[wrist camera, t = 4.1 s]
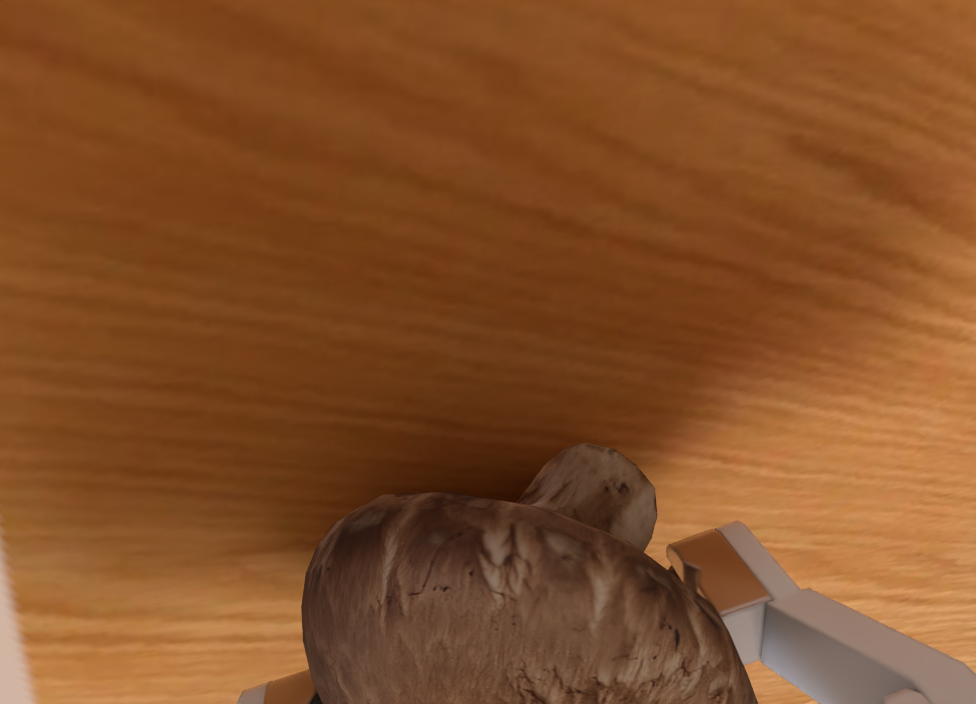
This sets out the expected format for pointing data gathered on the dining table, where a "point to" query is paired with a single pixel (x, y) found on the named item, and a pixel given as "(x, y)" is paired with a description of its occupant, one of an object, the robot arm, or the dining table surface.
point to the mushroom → (514, 599)
